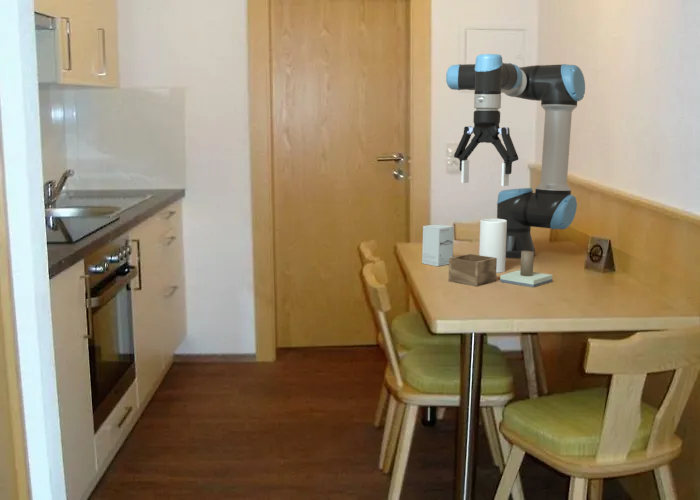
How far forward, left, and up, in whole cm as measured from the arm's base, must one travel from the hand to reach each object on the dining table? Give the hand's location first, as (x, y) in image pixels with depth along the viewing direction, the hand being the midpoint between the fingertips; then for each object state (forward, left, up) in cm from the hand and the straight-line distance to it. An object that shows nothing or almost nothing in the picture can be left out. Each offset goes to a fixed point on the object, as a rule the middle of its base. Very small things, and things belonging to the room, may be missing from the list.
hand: (484, 184), depth 240 cm
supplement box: (-14, -26, -29) cm, 41 cm away
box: (+2, -2, -29) cm, 29 cm away
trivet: (-9, +10, -29) cm, 32 cm away
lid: (-9, +10, -28) cm, 31 cm away
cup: (-17, -7, -29) cm, 34 cm away
